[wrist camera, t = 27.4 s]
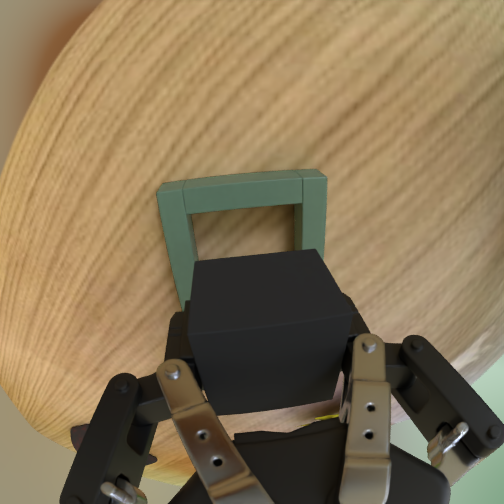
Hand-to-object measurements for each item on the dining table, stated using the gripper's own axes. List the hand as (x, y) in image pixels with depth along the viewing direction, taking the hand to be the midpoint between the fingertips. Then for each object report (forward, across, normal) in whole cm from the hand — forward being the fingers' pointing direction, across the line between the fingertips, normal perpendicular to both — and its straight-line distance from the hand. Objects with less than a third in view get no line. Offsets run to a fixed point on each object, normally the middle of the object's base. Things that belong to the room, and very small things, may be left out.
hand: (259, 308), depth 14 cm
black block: (0, 0, 0) cm, 0 cm away
